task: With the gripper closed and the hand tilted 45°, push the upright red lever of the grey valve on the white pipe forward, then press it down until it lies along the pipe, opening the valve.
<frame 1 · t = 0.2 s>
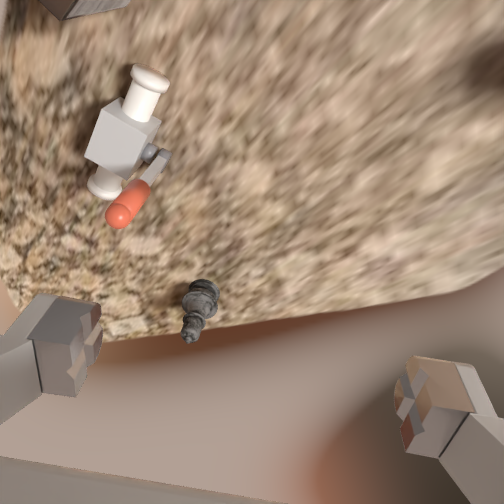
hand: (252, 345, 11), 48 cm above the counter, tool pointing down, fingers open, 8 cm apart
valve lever: (143, 184, 51), point 11 cm above the counter, hinge at 0.0°
grey chess pawn: (204, 291, 73), on the counter
valve: (131, 131, 59), on the counter
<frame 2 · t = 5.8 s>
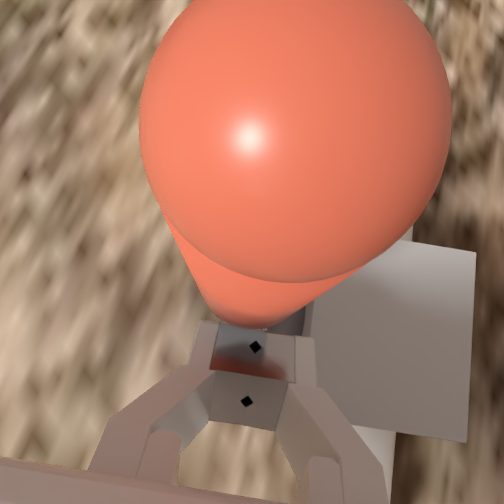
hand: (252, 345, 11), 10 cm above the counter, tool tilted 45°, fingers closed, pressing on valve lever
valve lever: (250, 282, 11), point 11 cm above the counter, hinge at 1.7°, touching gripper
valve: (349, 333, 22), on the counter
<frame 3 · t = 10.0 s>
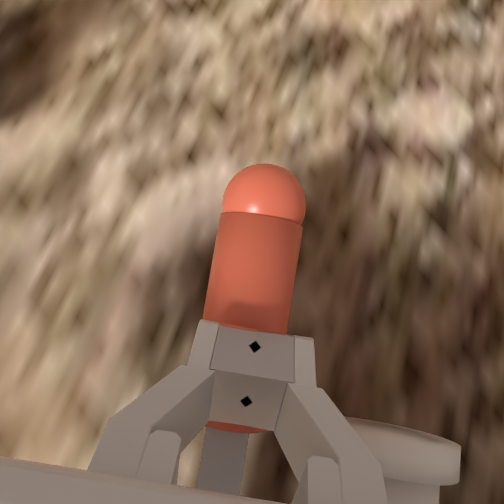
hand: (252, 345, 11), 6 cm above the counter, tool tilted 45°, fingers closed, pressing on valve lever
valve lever: (221, 462, 13), point 4 cm above the counter, hinge at 81.9°, touching gripper
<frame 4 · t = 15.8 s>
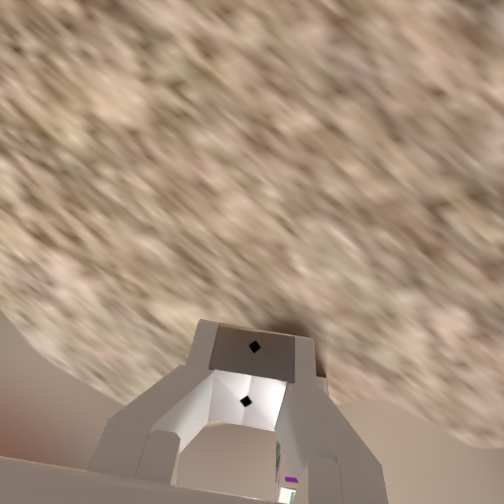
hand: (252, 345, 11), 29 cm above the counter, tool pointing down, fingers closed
syrup box: (302, 388, 55), on the counter
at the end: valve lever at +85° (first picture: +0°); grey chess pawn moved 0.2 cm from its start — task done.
